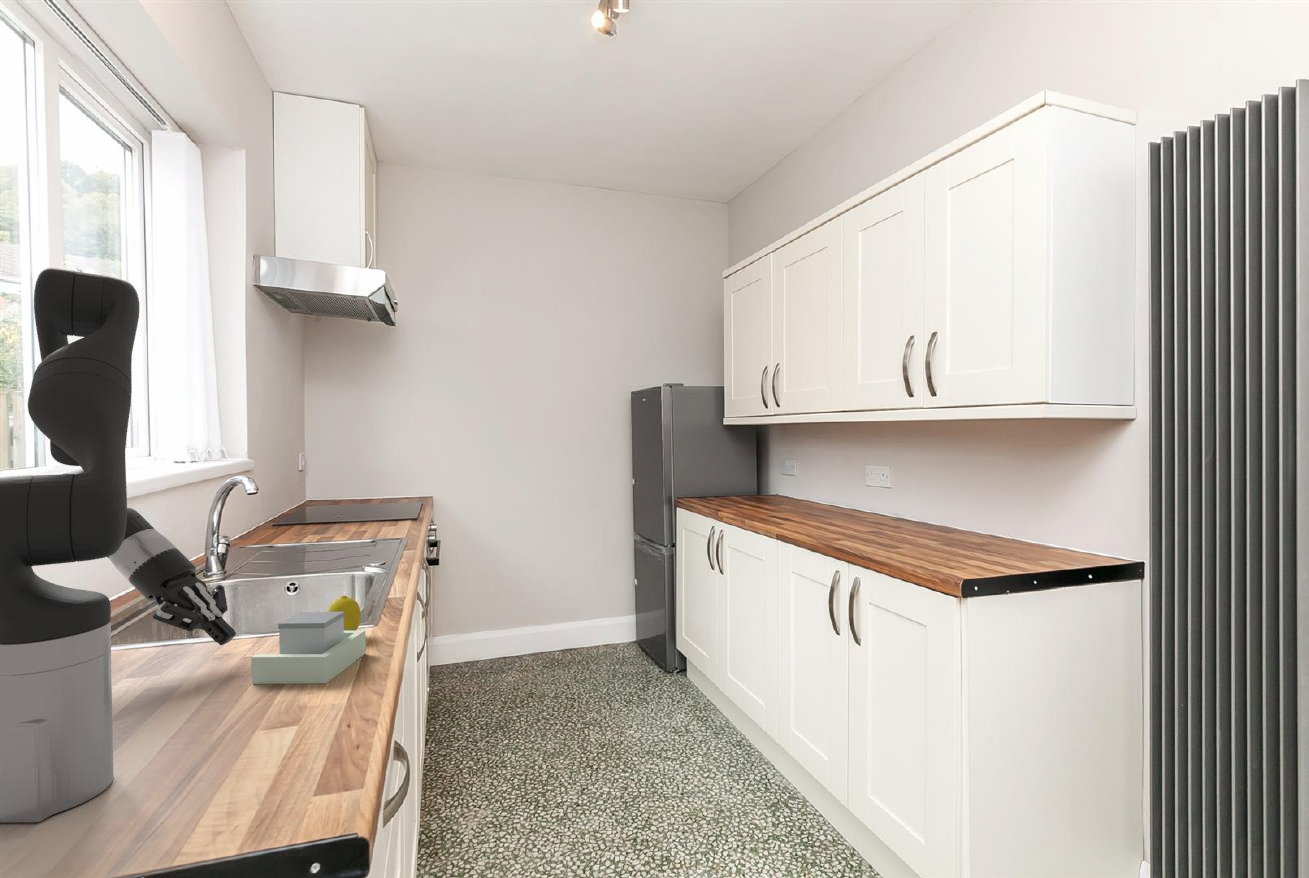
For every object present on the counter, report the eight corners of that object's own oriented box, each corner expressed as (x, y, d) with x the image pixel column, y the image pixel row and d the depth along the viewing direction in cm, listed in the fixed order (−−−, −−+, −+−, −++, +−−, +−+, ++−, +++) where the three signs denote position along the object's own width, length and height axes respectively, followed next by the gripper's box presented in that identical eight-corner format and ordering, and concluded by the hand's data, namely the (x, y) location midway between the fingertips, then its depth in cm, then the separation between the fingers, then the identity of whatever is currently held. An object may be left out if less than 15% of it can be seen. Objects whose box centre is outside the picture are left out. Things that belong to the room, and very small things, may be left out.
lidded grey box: (325, 675, 96) (324, 623, 96) (278, 675, 96) (278, 623, 96) (344, 660, 102) (344, 611, 102) (301, 660, 102) (300, 612, 102)
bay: (326, 683, 93) (325, 656, 93) (251, 683, 93) (251, 657, 93) (365, 654, 105) (365, 630, 105) (300, 654, 105) (299, 631, 105)
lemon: (351, 644, 110) (351, 599, 110) (321, 644, 110) (320, 599, 110) (366, 634, 116) (366, 591, 116) (337, 634, 116) (337, 591, 116)
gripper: (133, 555, 93) (215, 637, 92) (200, 540, 106) (271, 611, 106) (99, 591, 93) (181, 672, 93) (169, 571, 106) (241, 642, 106)
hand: (229, 640), depth 99 cm, fingers closed
